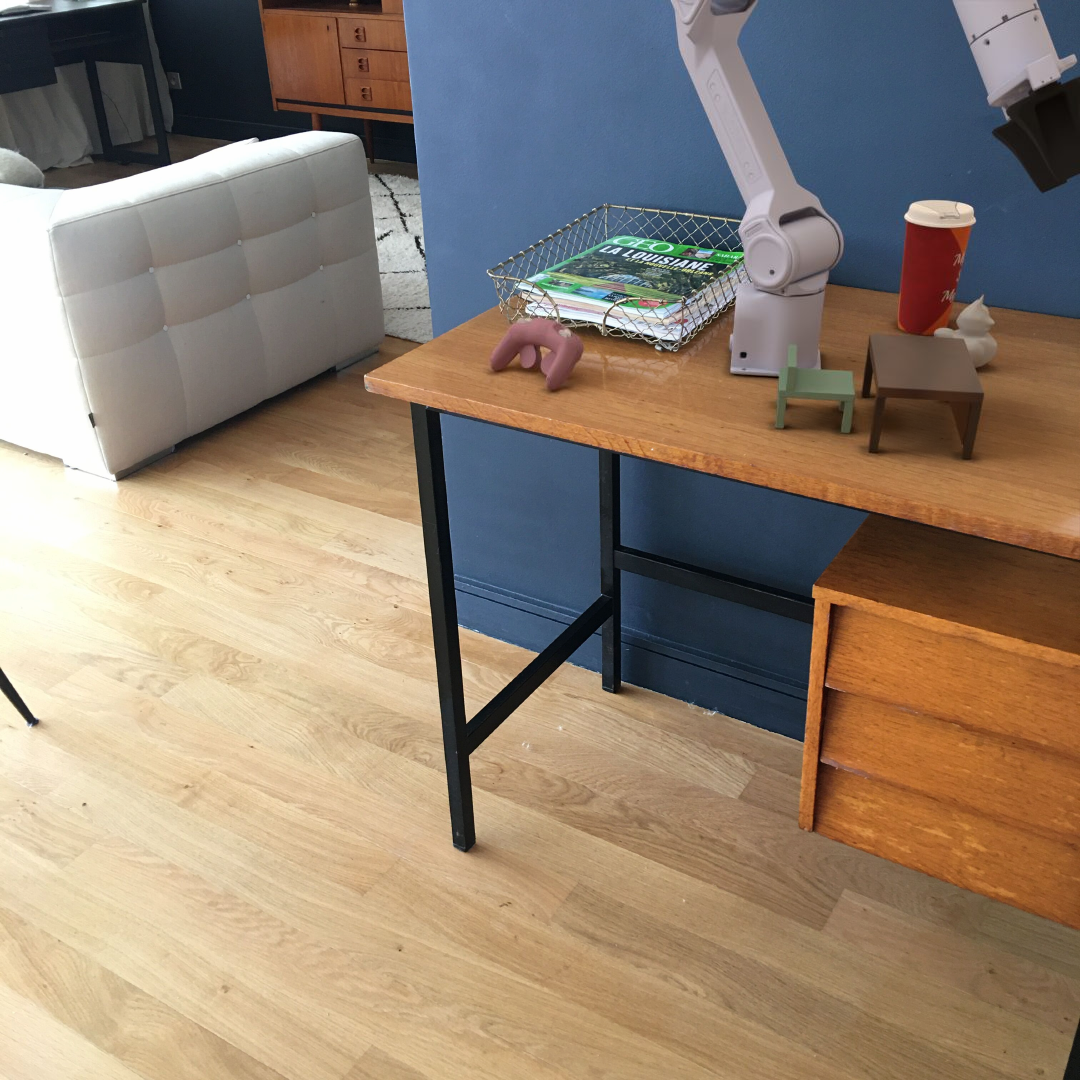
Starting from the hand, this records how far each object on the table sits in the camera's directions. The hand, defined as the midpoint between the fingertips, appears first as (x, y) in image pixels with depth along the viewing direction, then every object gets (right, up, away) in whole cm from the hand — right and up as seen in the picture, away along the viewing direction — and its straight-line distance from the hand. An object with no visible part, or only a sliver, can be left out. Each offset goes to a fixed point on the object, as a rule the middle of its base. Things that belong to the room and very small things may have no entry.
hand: (1063, 182), depth 92 cm
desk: (-8, -19, +14) cm, 25 cm away
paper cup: (+1, -5, +38) cm, 38 cm away
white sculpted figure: (+2, -11, +27) cm, 29 cm away
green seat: (-17, -18, +15) cm, 29 cm away
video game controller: (-44, -12, +27) cm, 53 cm away
